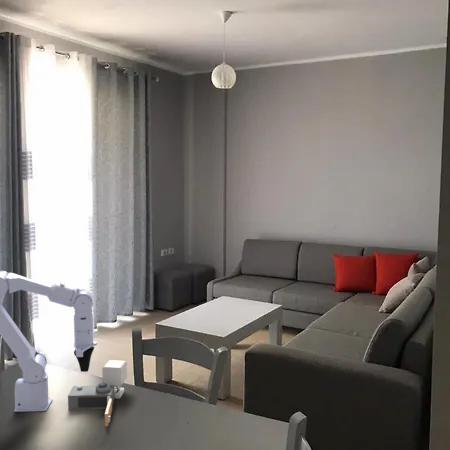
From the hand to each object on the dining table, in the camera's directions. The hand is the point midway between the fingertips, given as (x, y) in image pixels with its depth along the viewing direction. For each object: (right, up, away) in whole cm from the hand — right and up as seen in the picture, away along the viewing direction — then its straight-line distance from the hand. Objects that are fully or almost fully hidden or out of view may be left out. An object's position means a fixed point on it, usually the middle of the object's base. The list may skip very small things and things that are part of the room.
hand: (84, 370), depth 165 cm
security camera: (+8, -10, +7) cm, 14 cm away
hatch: (+10, -11, -10) cm, 18 cm away
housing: (+3, -10, -1) cm, 11 cm away
